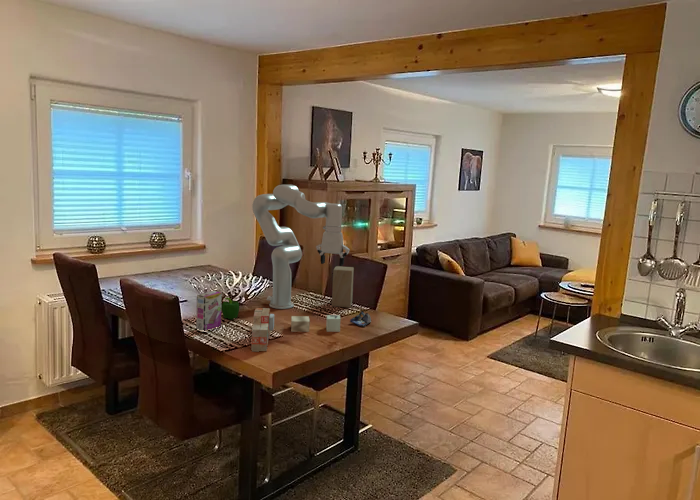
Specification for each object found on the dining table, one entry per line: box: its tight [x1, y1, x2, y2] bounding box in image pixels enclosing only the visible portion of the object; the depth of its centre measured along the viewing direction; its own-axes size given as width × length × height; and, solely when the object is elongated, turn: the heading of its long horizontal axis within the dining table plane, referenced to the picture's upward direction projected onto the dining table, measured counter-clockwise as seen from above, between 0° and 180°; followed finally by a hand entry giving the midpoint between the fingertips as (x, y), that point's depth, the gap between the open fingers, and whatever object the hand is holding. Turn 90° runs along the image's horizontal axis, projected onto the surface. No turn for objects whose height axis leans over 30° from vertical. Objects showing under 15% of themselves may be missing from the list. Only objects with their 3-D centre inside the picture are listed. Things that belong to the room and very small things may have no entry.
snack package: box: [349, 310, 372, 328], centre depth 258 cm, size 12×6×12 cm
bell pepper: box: [221, 297, 240, 320], centre depth 257 cm, size 8×8×10 cm
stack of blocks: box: [250, 307, 271, 352], centre depth 224 cm, size 21×6×12 cm, turn 6°
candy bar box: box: [195, 290, 223, 331], centre depth 238 cm, size 11×5×16 cm, turn 152°
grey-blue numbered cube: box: [269, 313, 275, 331], centre depth 244 cm, size 6×6×6 cm
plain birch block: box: [290, 315, 310, 333], centre depth 245 cm, size 8×8×5 cm
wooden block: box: [331, 265, 355, 308], centre depth 289 cm, size 10×10×20 cm
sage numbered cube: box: [325, 314, 341, 333], centre depth 247 cm, size 6×6×6 cm
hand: (332, 264), depth 261 cm, fingers open, 9 cm apart
